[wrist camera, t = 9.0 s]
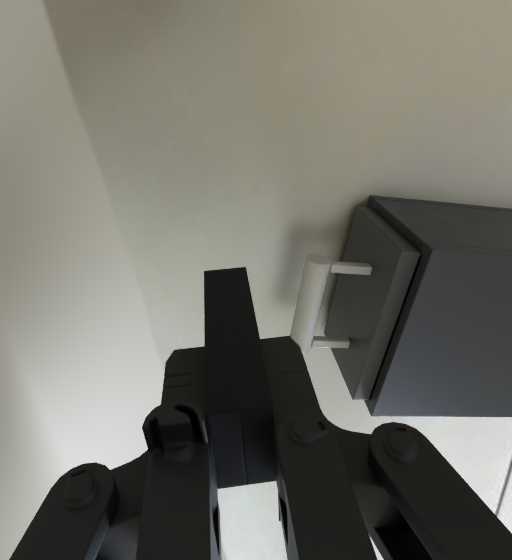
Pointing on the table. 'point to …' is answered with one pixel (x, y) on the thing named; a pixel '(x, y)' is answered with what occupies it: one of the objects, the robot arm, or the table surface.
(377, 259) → the drawer
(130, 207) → the table surface
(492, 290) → the cabinet
